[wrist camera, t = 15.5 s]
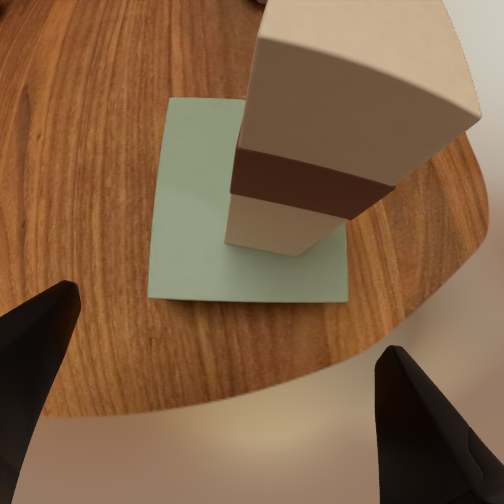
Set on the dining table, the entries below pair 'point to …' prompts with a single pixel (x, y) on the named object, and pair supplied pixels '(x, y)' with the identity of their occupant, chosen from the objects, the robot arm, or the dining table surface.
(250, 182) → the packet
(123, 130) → the dining table surface
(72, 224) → the dining table surface
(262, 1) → the apple
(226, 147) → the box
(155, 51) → the dining table surface
